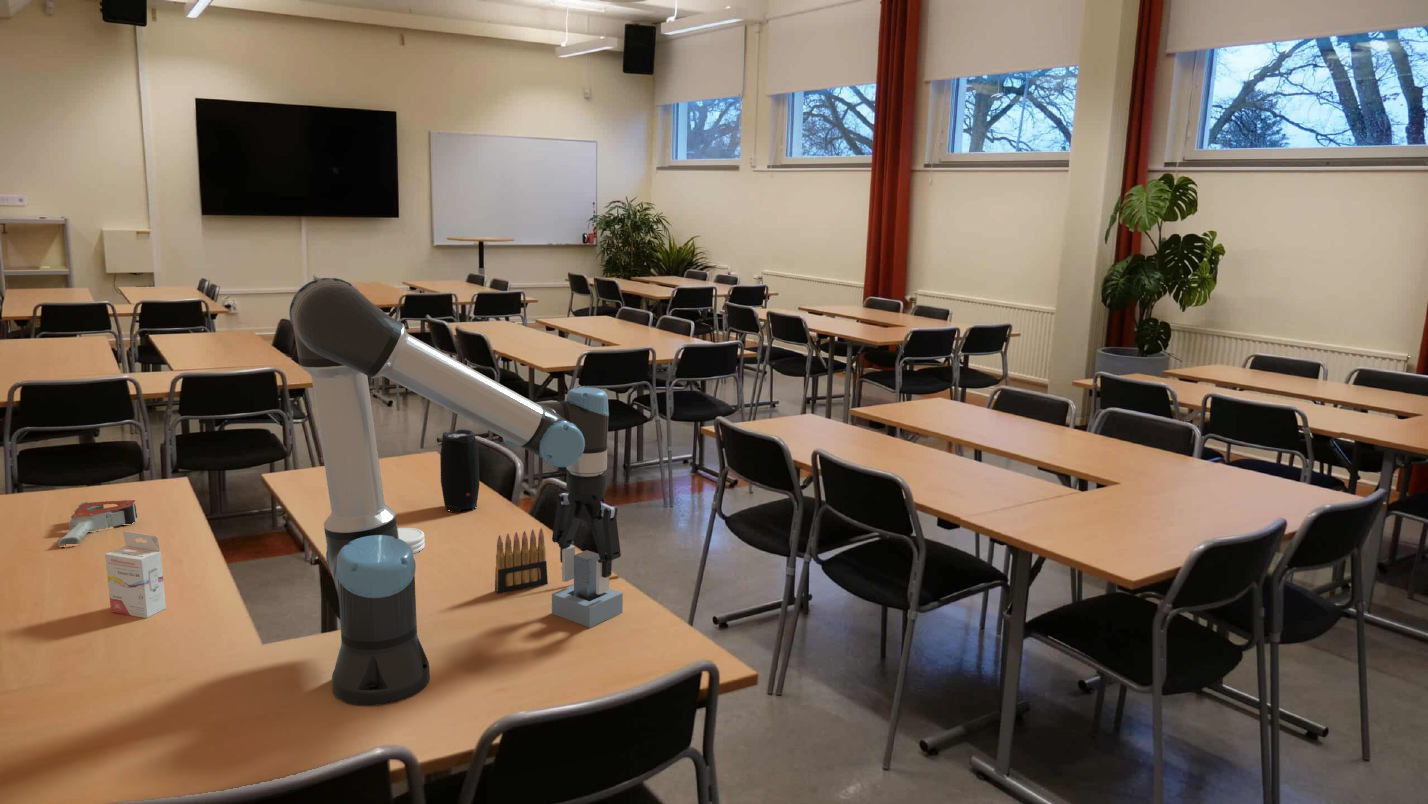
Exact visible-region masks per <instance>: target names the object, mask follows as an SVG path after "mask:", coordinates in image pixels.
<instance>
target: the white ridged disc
mask: <svg viewBox="0 0 1428 804" xmlns="http://www.w3.org/2000/svg"><path fill="white" fill-rule="evenodd" d="M397 529H398V537H399V539H401V540H403V541H405V542H406V543H407V544H408V545H409V546H410V547H411V549H412V551H413V555H414V553H415V554H417V552H418V553H420V552H421V551H423V550H424V549H425V547H426V544H425V541H426V539H425V533H424V532H423V531H422V530H420V529H419V528H414V527H397ZM423 548H424V549H423ZM422 549H423V550H422ZM419 551H420V552H419Z"/></svg>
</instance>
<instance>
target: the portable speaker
mask: <svg viewBox="0 0 1428 804" xmlns="http://www.w3.org/2000/svg"><path fill="white" fill-rule="evenodd" d="M441 437H442V438H441V439H442V441H441V449H440V456H439V457H440V459H439V460H440V485H441V492H442V496H443V497H442V498H443V504H444V507H445V509H446V511H447V510H450V511H452V512H451V513H460V512H459V511H461V510H466V509H470V510H471V509H474V508H475V507H477V506H478V505H477V504H478V500H479V499H478V498H479V489H480V460H479V450H478V449H479V448H478V444H477V440H476V435H475V433H474V432H473V431H472V430H471V429H458V430H456V431H450V432H449V431H448V432H446V431H445V432H443V433H442V435H441ZM477 508H478V507H477ZM474 510H475V509H474Z"/></svg>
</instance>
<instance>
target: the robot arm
mask: <svg viewBox="0 0 1428 804" xmlns="http://www.w3.org/2000/svg"><path fill="white" fill-rule="evenodd" d="M288 310H289V321H290V323H291V324H290V325H291V326H292V328H293V331H294V338H295V339H294V340H295V344H296V346H295V347H296V352H297V359H298V364H299V367H300V368H301V369H302V370H303V371H305V372H306V373H308V374H309V375H310V376H311V377H310V378H311V384H312V388H313V389H312V390H313V395H314V397H313V398H314V403H315V409H316V416H317V417H316V418H317V423H318V429H319V430H318V431H319V436H320V444H321V450H322V457H323V462H324V470H325V471H324V472H325V476H326V484H327V490H328V495H329V496H328V497H329V504H330V511H331V512H330V514H329V515H328V517H326V519H325V521H324V522H323V529H324V530H323V531H324V535H325V543H326V553H325V557H326V563H327V567H328V569H329V572H330V573H331V577H332V580H333V582H334V585H335V586H334V587H335V589H336V593H337V597H338V605H339V623H340V637H341V642H340V643H341V644H340V648H339V651H338V654H337V658H336V662H335V666H334V670H333V671H332V674H331V684H332V685H331V687H332V690H331V691H332V693H333V695H334V696H335V698H336V699H338V700H339V701H342V702H344V703H347V704H350V705H355V706H367V707H368V706H371V707H372V706H382V705H390V704H394V703H397V702H401V701H403V700H407V699H409V698H411V697H413V696H415V695H417V694H419V693H420V692H421V691H423V690H424V689H425V688H426V687H427V685H428V684H429V682H430V679H431V671H430V670H431V669H430V668H431V667H430V663H429V660H428V657H427V655H426V653H425V650H424V648H423V645H422V643H421V641H420V638H419V635H418V629H417V628H418V623H417V622H418V621H417V599H416V598H417V597H416V567H417V566H416V560H415V557H414V554H413V551H412V549H411V547H410V546H409V545H408V544H407V543H406V542H405V541H403V540H401V539H399V537H398V529H397V528H398V523H397V516H396V512H395V510H394V509H392V508H391V507H389V506H388V505H386V503H385V496H384V489H383V481H382V475H381V466H380V459H379V453H378V452H379V451H378V445H377V437H376V430H375V424H374V415H373V408H372V402H371V393H370V386H369V385H370V384H369V380H368V379H369V378H372V379H376V378H380V377H384V378H386V379H388V380H390V381H392V382H394V383H396V384H397V385H399V386H402V387H403V388H406V389H408V390H409V391H412V392H413V393H415V394H418V395H419V396H421V397H423V398H425V399H426V400H428V401H431V402H433V403H435V404H437V405H439V406H441V407H443V408H445V409H446V410H449V411H451V412H452V413H455V414H456V415H458V416H460V417H462V418H464V419H466V420H468V421H470V422H472V423H473V424H474V423H475V424H476V425H479V426H480V427H482V428H484V429H486V430H487V431H490V432H492V433H494V434H495V435H498V436H500V437H502V440H503V442H504V443H505V444H506V446H509V447H521V448H522V449H525V450H526V451H528V452H530V453H532V454H534V455H536V456H538V457H540V458H541V459H542V460H543V461H544V462H545V463H546V464H549V465H551V466H553V467H557V468H565V469H566V470H567V472H566V481H565V482H566V484H565V487H566V488H565V489H566V492H562V493H558V494H556V496H555V497H556V499H555V501H556V511H555V515H554V516H555V517H554V524H553V530H552V536H551V540H552V542H553V543H556V544H557V545H558V547H559V549H560V550H559V554H560V556H559V557H560V558H559V561H560V563H561V582H563V583H566V582H569V581H571V580H574V555H575V554H576V546H574V544H575V542H574V540H575V537H576V535H577V532H578V530H579V526H580V524H581V522H582V520H583V521H585V522H586V523H587V526H588V527H589V528H590V530H591V533H592V537H593V540H594V543H595V548H596V549H597V554H599V557H600V560H597V566H596V594H602V593H604V592H607V591H609V589H610V577H611V575H612V570H613V567H612V564H613V561H614V560H616V559H619V558H621V556H622V553H621V543H620V537H619V528H618V521H617V516H618V506H617V505H612V506H611V505H608V504H607V503H606V500H605V493H606V492H607V489H608V473H607V472H606V470H607V469H608V434H609V433H608V432H609V416H610V412H609V400H608V394H607V392H606V391H604V390H603V389H601V388H597V387H589V386H588V387H587V386H586V387H584V386H583V387H577V388H570V389H569V390H568V391H567V392H566V393H567V394H566V395H567V396H566V399H565V400H561V401H547V402H545V401H544V402H534V401H532V400H530V399H529V398H526V397H524V396H523V395H521V394H519V393H517V392H516V391H514V390H512V389H510V388H508V387H506V386H504V385H503V384H501V383H499V382H498V381H496V380H493V379H491V378H490V377H488V376H486V375H484V374H483V373H480V372H479V371H477V370H475V369H474V368H472V367H469V366H468V365H466V364H465V363H462V362H461V361H458V360H457V359H455V358H453V357H451V355H450V356H449V355H447V354H446V353H444V352H442V351H440V350H439V349H436V348H435V347H433V346H431V345H429V344H427V343H426V342H424V341H422V340H420V339H418V338H416V337H415V336H413V335H411V334H409V333H408V332H407V330H406V326H405V324H404V323H403V322H400V321H399V320H397V319H395V318H393V317H391V316H390V315H389V314H387V313H386V312H384V311H383V310H381V309H380V308H379V307H378V306H376V305H375V304H374V303H373V302H372V301H370V300H369V298H368V297H367V296H366V295H364V294H363V293H362V292H361V291H360V290H359V289H358V288H357V287H356V286H354V285H353V284H352V283H351V282H349V281H346V280H344V279H342V278H337V277H322V278H317V279H314V280H311V281H309V282H307V283H305V284H304V285H302V286H301V287H300V288H299V289H298V290H297V291H296V293H295V294H294V295H293V298H292V299H291V303H290V306H289V309H288ZM368 377H369V378H368Z"/></svg>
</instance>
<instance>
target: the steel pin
mask: <svg viewBox="0 0 1428 804" xmlns="http://www.w3.org/2000/svg"><path fill="white" fill-rule="evenodd" d="M597 560H600V557H599V554H598V552H595V551H590V550H587V549H586V550H584V551H581V552H579V553H575V555H574V579H573V585H574V596H575V597H578V598H581V599H584V600H587V601H592V600H594V599H596V598H599V597H600V594H596V566H597Z"/></svg>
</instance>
